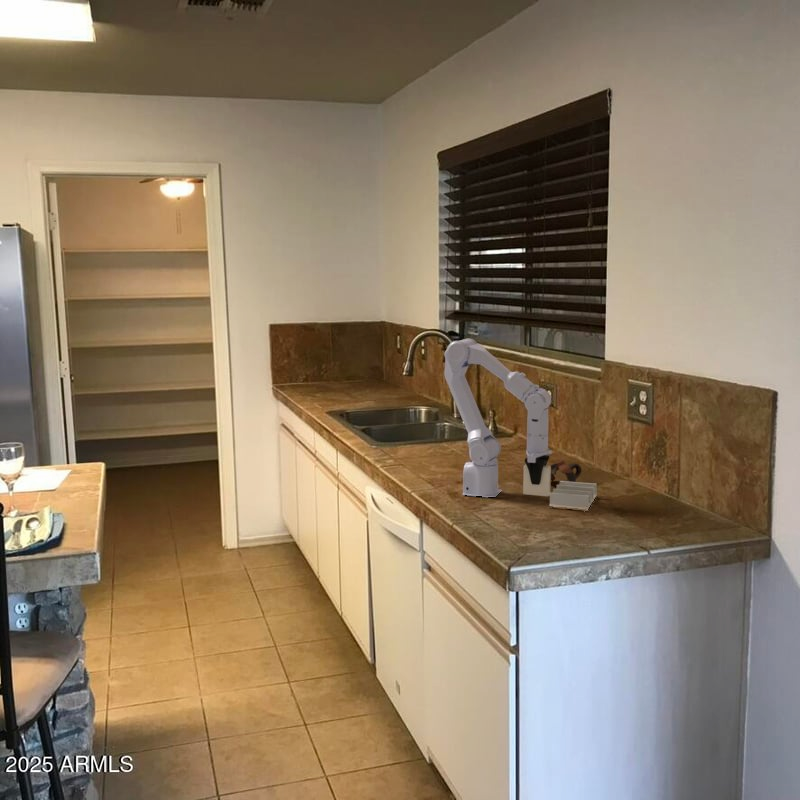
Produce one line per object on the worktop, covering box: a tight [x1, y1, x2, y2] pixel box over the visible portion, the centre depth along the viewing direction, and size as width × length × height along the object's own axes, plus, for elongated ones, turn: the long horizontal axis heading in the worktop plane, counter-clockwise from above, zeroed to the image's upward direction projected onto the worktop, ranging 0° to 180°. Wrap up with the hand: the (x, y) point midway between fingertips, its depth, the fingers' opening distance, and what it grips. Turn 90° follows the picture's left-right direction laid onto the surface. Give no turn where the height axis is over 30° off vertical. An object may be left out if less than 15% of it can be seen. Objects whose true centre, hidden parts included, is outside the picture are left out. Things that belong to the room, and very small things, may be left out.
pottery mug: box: [549, 460, 582, 482], centre depth 254 cm, size 12×10×8 cm
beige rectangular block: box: [522, 463, 551, 497], centre depth 237 cm, size 7×2×8 cm, turn 69°
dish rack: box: [549, 480, 598, 511], centre depth 233 cm, size 10×15×4 cm, turn 159°
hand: (536, 483), depth 237 cm, fingers closed on beige rectangular block, 2 cm apart
